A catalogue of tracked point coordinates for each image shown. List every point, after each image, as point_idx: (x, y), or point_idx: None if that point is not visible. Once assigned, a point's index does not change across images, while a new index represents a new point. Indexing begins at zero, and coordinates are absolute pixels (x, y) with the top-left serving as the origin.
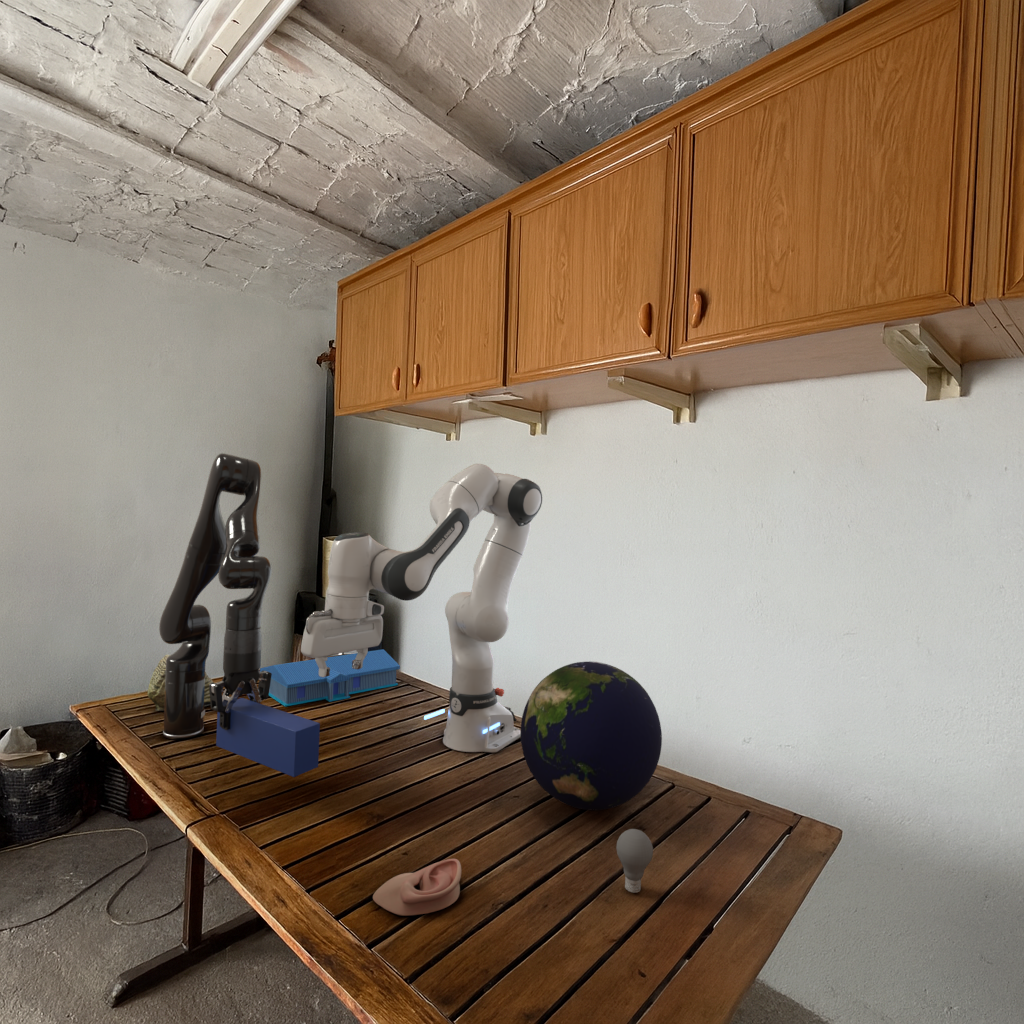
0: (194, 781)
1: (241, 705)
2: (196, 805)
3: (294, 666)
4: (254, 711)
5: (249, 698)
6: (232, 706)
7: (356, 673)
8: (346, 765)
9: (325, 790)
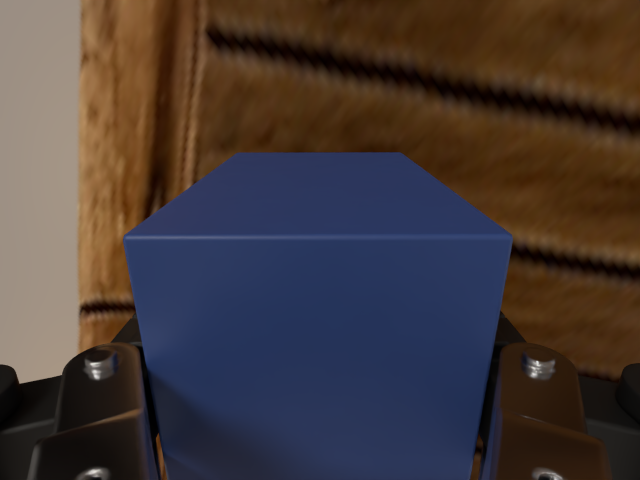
0: (231, 37)
1: (304, 448)
2: None
3: None
4: None
5: (496, 385)
6: (221, 408)
7: None
8: (620, 353)
9: None
